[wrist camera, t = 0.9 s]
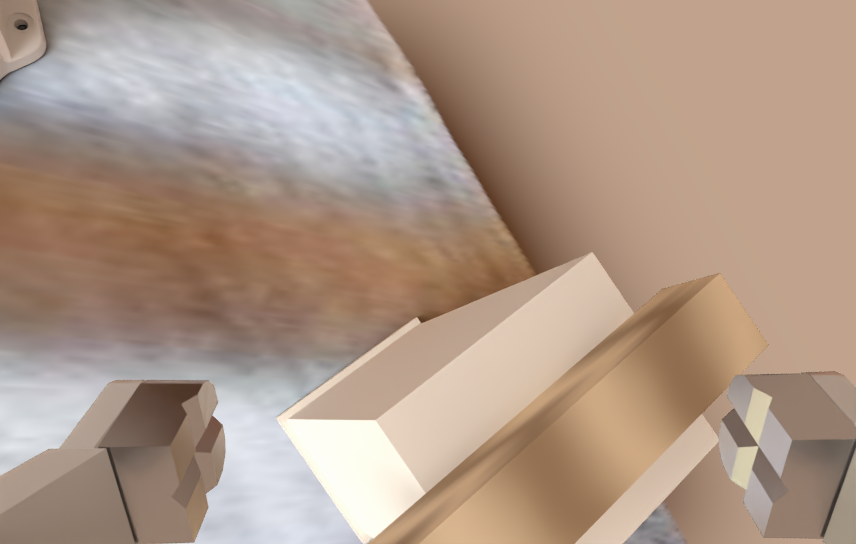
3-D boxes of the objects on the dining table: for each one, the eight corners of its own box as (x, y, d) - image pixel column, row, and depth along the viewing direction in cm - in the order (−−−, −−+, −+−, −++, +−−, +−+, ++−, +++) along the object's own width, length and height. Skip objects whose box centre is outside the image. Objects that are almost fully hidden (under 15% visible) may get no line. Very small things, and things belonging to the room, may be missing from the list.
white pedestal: (360, 541, 48) (527, 665, 24) (275, 417, 48) (356, 417, 24) (489, 431, 53) (733, 442, 29) (412, 319, 53) (593, 236, 29)
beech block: (299, 751, 21) (319, 813, 18) (234, 658, 21) (242, 702, 18) (707, 356, 29) (770, 348, 26) (662, 288, 29) (720, 273, 26)
